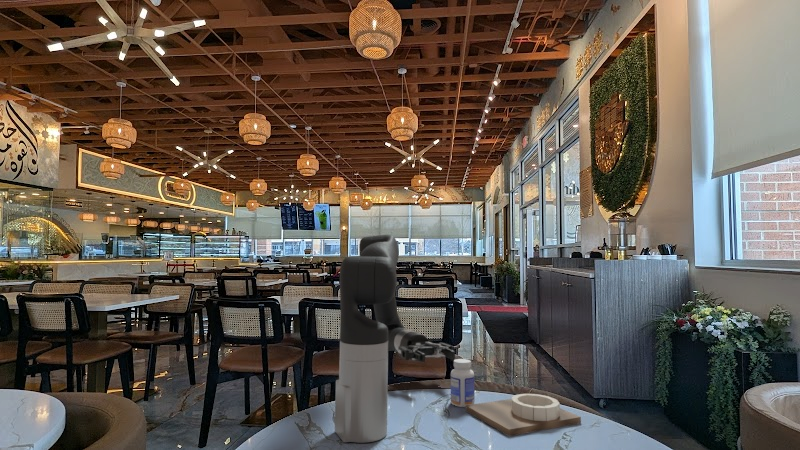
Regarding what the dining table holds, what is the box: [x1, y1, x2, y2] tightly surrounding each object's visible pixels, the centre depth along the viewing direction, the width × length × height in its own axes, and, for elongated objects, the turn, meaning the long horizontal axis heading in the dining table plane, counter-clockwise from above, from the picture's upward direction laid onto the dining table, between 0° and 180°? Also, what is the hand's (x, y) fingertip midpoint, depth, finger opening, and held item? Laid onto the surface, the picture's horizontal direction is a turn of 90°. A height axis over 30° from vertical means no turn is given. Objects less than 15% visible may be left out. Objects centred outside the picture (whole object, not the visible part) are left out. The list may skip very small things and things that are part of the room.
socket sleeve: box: [510, 393, 561, 421], centre depth 93 cm, size 9×9×2 cm
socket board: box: [465, 398, 582, 437], centre depth 94 cm, size 18×15×1 cm
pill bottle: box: [450, 358, 476, 408], centre depth 103 cm, size 5×5×10 cm
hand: (438, 356), depth 113 cm, fingers open, 8 cm apart
